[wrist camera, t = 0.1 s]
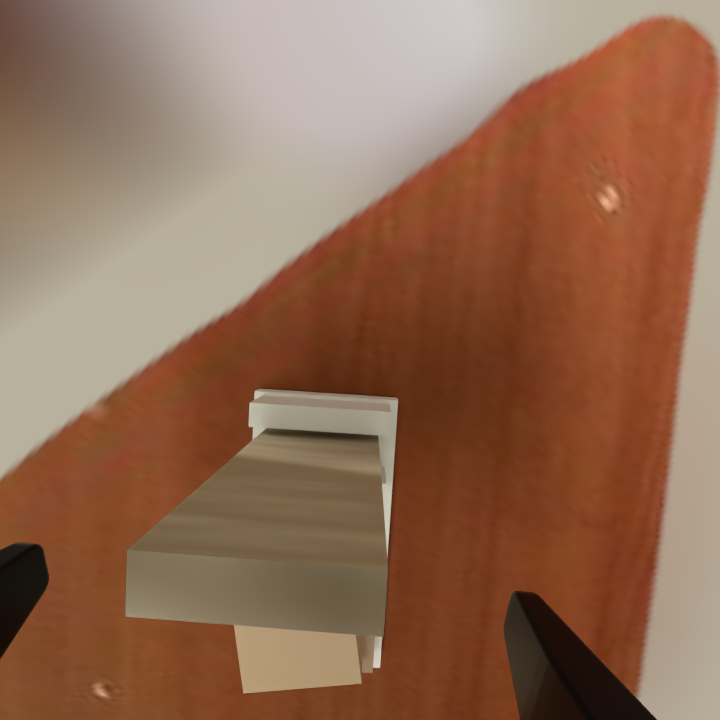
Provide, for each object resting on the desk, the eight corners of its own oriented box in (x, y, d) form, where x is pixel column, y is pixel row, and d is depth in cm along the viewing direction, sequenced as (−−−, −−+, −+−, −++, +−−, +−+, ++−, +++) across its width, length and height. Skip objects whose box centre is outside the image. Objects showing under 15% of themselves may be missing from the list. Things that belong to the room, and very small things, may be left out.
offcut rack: (379, 654, 24) (381, 718, 20) (247, 643, 24) (223, 704, 20) (397, 397, 23) (402, 410, 19) (259, 388, 23) (236, 399, 19)
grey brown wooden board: (376, 459, 22) (383, 636, 9) (269, 452, 22) (125, 616, 9) (378, 431, 22) (388, 569, 9) (271, 424, 22) (127, 550, 9)
